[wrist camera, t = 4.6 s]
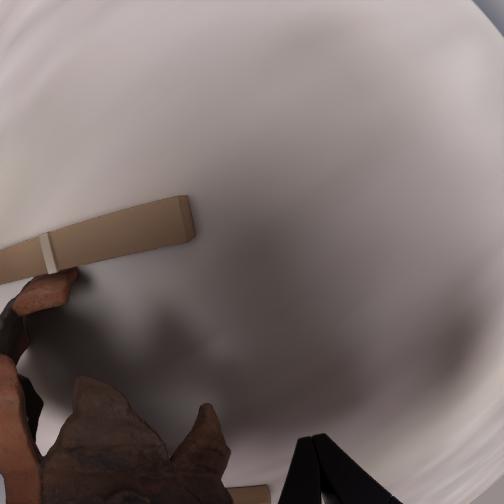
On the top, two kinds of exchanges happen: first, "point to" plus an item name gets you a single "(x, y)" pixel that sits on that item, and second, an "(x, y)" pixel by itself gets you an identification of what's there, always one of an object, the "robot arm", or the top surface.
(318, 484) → the robot arm
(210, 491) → the brown broken pot
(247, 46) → the top surface
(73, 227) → the wooden u-shaped frame
